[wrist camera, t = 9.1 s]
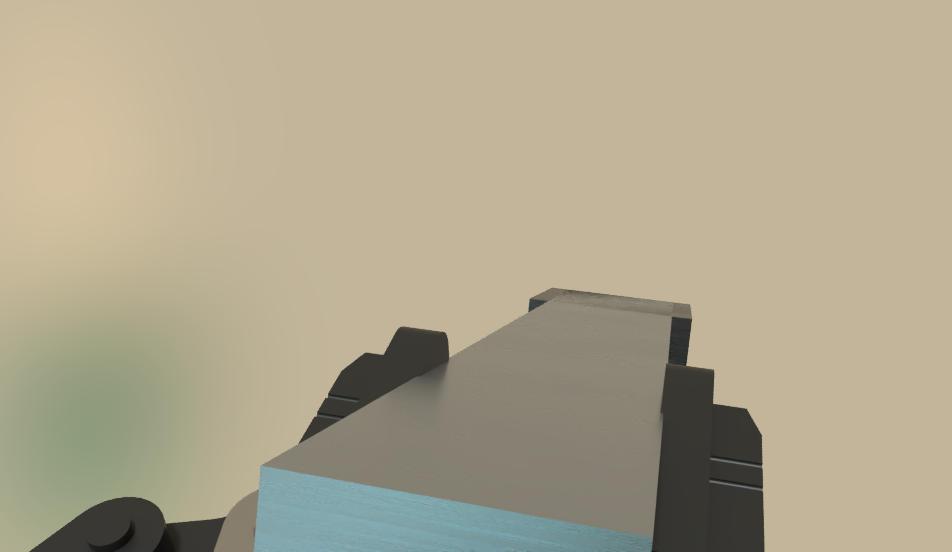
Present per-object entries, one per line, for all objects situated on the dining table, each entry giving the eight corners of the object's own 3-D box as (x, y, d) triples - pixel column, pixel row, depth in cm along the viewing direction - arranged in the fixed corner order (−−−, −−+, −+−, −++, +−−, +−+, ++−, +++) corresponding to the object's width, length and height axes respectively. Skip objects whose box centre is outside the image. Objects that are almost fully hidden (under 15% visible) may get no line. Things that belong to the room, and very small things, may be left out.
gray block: (677, 408, 28) (689, 304, 28) (669, 955, 7) (723, 550, 7) (541, 388, 30) (552, 287, 29) (178, 813, 8) (206, 455, 8)
